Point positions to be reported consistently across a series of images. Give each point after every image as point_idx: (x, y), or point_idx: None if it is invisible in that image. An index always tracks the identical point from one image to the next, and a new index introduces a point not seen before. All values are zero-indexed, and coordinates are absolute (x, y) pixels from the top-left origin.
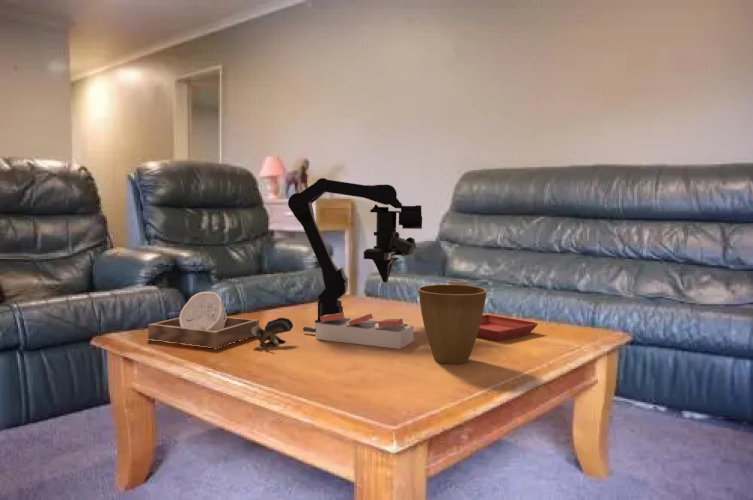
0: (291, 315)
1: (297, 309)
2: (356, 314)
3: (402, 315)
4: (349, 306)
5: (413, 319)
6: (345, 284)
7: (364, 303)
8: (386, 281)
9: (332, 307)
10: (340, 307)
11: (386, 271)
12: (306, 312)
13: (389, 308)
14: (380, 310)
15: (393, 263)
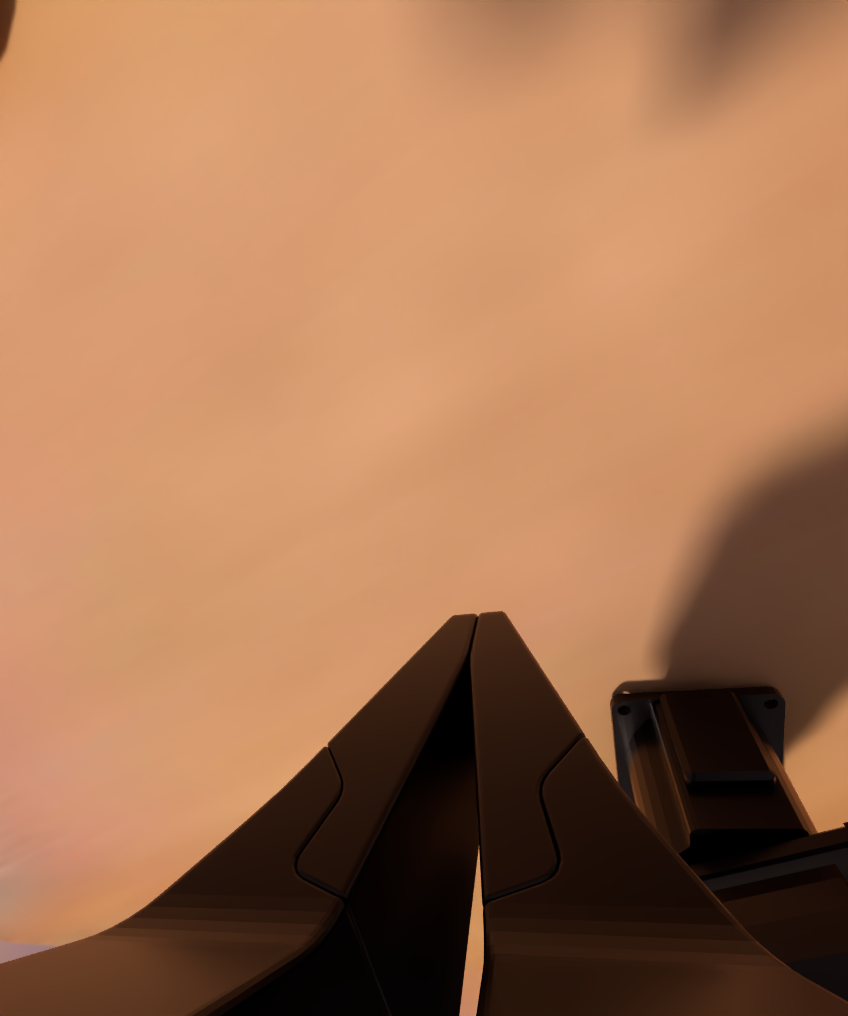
0: None
1: None
2: None
3: (152, 486)
4: (184, 854)
5: (210, 330)
6: (831, 987)
7: (53, 832)
8: (506, 619)
9: (799, 811)
10: (738, 772)
11: (594, 762)
12: None
13: (41, 669)
14: (135, 681)
15: (126, 932)
